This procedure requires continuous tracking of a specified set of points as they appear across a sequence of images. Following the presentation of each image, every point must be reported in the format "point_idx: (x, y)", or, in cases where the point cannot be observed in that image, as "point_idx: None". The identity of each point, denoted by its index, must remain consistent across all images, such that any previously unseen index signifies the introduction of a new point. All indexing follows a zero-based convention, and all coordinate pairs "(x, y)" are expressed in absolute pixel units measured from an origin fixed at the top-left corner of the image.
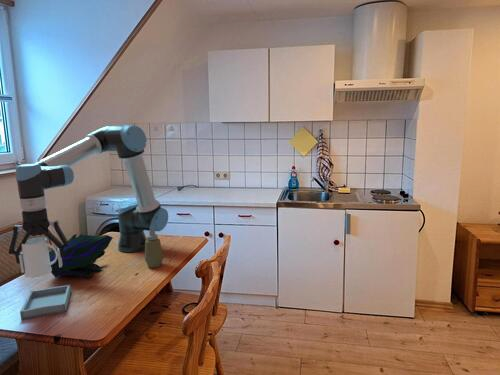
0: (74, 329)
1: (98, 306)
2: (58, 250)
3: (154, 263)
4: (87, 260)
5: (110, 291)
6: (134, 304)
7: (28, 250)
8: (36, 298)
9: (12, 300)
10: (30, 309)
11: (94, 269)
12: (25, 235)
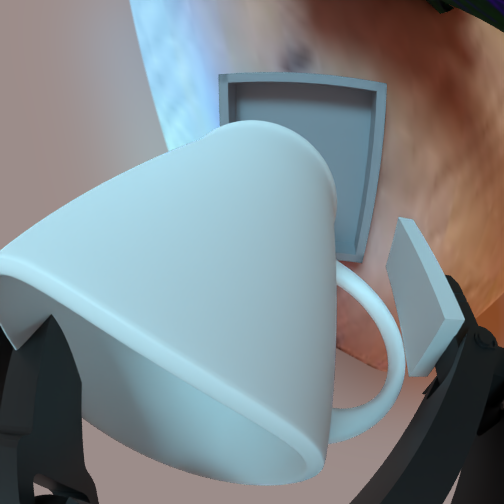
0: (365, 335)
1: (442, 260)
2: (419, 372)
3: None
4: (491, 20)
5: (494, 176)
6: (498, 292)
7: (158, 405)
8: (251, 102)
9: (168, 72)
10: None
11: None
12: (66, 496)
